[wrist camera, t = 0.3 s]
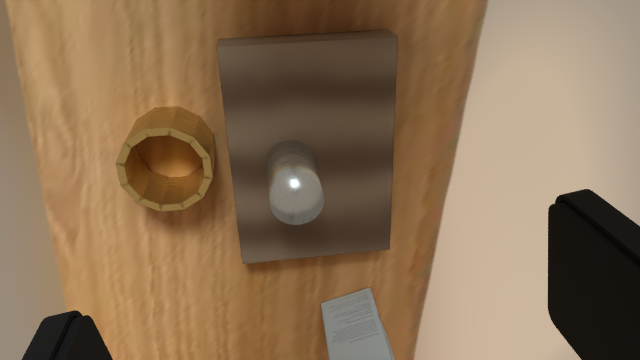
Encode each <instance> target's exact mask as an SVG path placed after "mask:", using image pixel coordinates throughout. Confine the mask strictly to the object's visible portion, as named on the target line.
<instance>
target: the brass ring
mask: <svg viewBox="0 0 640 360" xmlns="http://www.w3.org/2000/svg"><path fill="white" fill-rule="evenodd" d="M164 135H170V136H173V137H175V138H178V139H180V140H182V141H185V142H187V143H189V144H190V145H191V146H192V147H193V148H194V150H195V151H196V152H197V153H198V154H199V156H200V157H201V158H202V161H203V165H202V167H201V168H200V169H198V170H197V171H195V172H194V173H192V174H190V175H189V176H187V177H176V178H168V177H165V176H162V175H160V174H157V173H155V172H152V171H151V170H150V169H149V168H148V167H147V166H146V164H145V163H144V162H143V161H142V160H141V159H140V158H139V153H138V148H137V144H138V143H139V142H141V141H142V140H144V139H145V138H147V137H150V136H164ZM215 156H216V151H215V144H214V136H213V132H212V131H211V130H210V129H209V127H208V126H207V125H206V124H205V122H204V121H203V120H202V119H201V117H200V116H198V115H196V114H194V113H191V112H189V111H187V110H184V109H182V108H180V107H165V108H154V109H153V110H151V111H150V112H148V113H147V114H145V115H144V116H142V117H141V118H139V119H138V120H136V122H135V124H134V126H133V127H132V129H131V131H130V133H129V135H128V137H127V138H126V140H125V142H124V144H123V147H122V149H121V152H120V154H119V157H118V159H117V162H116V168H117V172H118V176H119V181H120V185H121V187H122V188H123V189H124V190H125V191H126V192H127V193H128V194H129V195H130V196H131V197H132V198H133V199H134V200H135V201H136V203H138V204H141V205H143V206H146V207H149V208H152V209H154V210H157V211H160V212H162V211H173V210H184V209H186V208H187V207H189V206H191V205H192V204H194V203H195V202H197V201H199V200H200V199H202V198H203V197H204V195H205V193H206V191H207V189H208V187H209V185H210V183H211V181H212V179H213V172H214V164H215Z"/></svg>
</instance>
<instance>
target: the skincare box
mask: <svg viewBox="0 0 640 360" xmlns="http://www.w3.org/2000/svg"><path fill="white" fill-rule="evenodd" d="M321 310H322V316H323V323H324V329H325V336H326V342H327V349H328V355H329V360H395V359H394V356H393V352H392V349H391V346H390V342H389V339H388V336H387V334H386V332H385V330H384V327H383V325H382V322H381V320H380V317H379V314H378V311H377V307H376V304H375V301H374V297H373V294H372V291H371V288H366V289H363V290H360V291H357V292H354V293H351V294H348V295H345V296H342V297H339V298H335V299H332V300H329V301H326V302H323V303H321Z"/></svg>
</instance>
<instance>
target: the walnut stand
mask: <svg viewBox="0 0 640 360" xmlns="http://www.w3.org/2000/svg"><path fill="white" fill-rule="evenodd" d="M217 54H218V62H219V71H220V79H221V88H222V96H223V105H224V113H225V121H226V130H227V138H228V147H229V155H230V164H231V172H232V181H233V189H234V198H235V206H236V214H237V223H238V231H239V240H240V248H241V257H242V264H247V263H257V262H267V261H277V260H287V259H297V258H307V257H318V256H328V255H338V254H348V253H358V252H368V251H378V250H388V249H390V226H391V199H392V172H393V145H394V118H395V91H396V64H397V36H396V35H394V34H393V33H392V32H390V31H389V30H374V31H356V32H338V33H321V34H303V35H285V36H267V37H249V38H231V39H218V44H217ZM287 140H294V141H298V142H301V143H303V144H304V145H306V146H307V147H308V148H309V149H310V151H311V153H312V155H313V159H314V162H315V166H316V169H317V173H318V176H319V180H320V183H321V187H322V190H323V194H324V206H323V208H322V210H321V212H320V214H319V215H318V216H317V217H316V218H315V219H313V220H312V221H310V222H308V223H305V224H301V225H291V224H287V223H284V222H282V221H280V220H279V219H278V218H277V217H276V216H275V215H274V214H273V212H272V210H271V207H270V198H269V187H268V175H267V162H266V161H267V156H268V154H269V152H270V150H271V149H272V148H273V147H274V146H275V145H276V144H278V143H280V142H283V141H287Z"/></svg>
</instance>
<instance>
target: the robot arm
mask: <svg viewBox="0 0 640 360" xmlns="http://www.w3.org/2000/svg"><path fill="white" fill-rule="evenodd" d="M548 215H549V216H548V311H549V315H550V317H551V320H552V322H553V323H554V325H555V326H556V328H557V329H558V330H559V331H560V333H561V334H562V335H563V336H564V338H565V339H566V340H567V342H568V343H569V344H570V346H571V347H572V348H573V349H574V351H575V352H576V353H577V354H578V356H579V357H580V358H581V359H582V360H640V226H639V225H637V224H636V223H634V222H633V221H632V220H630V219H629V218H628V217H626V216H625V215H624V214H622V213H621V212H620V211H618V210H617V209H615V208H614V207H613V206H612V205H610V204H609V203H608V202H606V201H605V200H604V199H602V198H601V197H600V196H598V195H597V194H595V193H594V192H593V191H591V190H589V189H584V190H580V191H576V192H571V193H567V194H563V195H560V196H558V197H557V199H556V201H555V204H552V205H551V206H550V207H549V212H548ZM22 360H113V359H112V357H111V355H110V353H109V351H108V349H107V347H106V345H105V343H104V341H103V339H102V337H101V335H100V333H99V331H98V329H97V327H96V325H95V323H94V321H93V320H92V318H91V317H90V316H88V315H85V316H82V314H81V313H80V312H79V311H75V310H74V311H70V312H66V313H62V314H58V315H53V316H49V317H47V318H45V319H44V320H43V321H42V322H41V324H40V326H39V328H38V330H37V332H36V334H35V335H34V337H33V339H32V341H31V343H30V345H29V347H28V349H27V351H26V353H25V354H24V356H23V358H22Z"/></svg>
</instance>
